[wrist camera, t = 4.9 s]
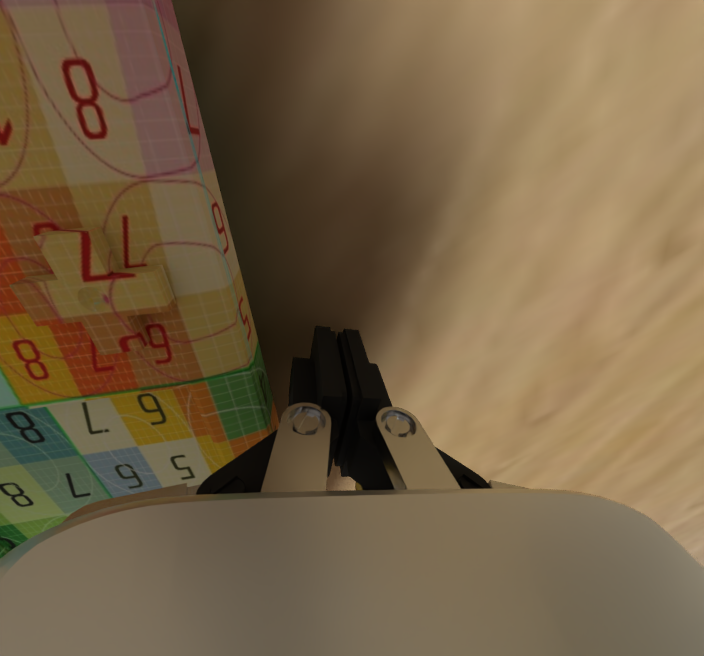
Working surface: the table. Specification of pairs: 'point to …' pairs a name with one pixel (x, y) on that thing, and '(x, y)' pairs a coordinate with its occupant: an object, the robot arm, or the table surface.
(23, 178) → the puzzle game
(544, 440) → the table surface
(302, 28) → the table surface
